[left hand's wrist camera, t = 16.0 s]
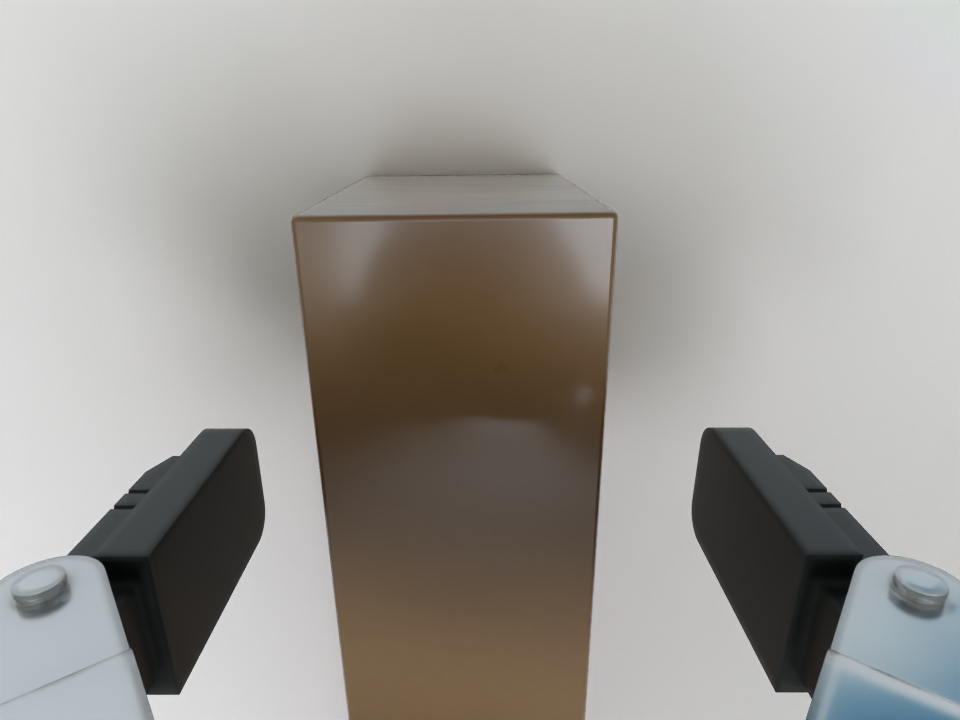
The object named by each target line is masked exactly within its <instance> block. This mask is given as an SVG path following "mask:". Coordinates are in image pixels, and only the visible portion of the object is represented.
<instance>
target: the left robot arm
mask: <svg viewBox="0 0 960 720" xmlns="http://www.w3.org/2000/svg"><path fill="white" fill-rule="evenodd" d="M264 521H265V503H264V496H263V489H262V482H261V475H260V468H259V461H258V454H257V447H256V441H255V437H254V434H253V432H252V431H251V430H250V429H205V430H203V431H202V432H201V433H200V434H199V435H198V436H197V438H196V439H195V440H194V441H193V442H192V443H191V444H190V445H189V447H188V448H187V449H186V450H185V451H184V452H183V453H182V454H181V456H172V457H170V458H169V459H167V460H165V461H164V462H162V463H160V464H159V465H157V466H155V467H153V468H152V469H150V470H148V471H147V472H145V473H144V474H143V476H142V477H141V478H140V479H139V480H138V481H137V482H136V483H135V484H134V485H133V486H132V487H131V488H130V489H129V493H128V494H125V495H124V496H123V497H122V498H121V499H120V500H119V501H118V502H117V503H116V504H115V505H114V509H110V511H109V512H108V513H107V514H106V515H105V516H104V517H103V518H102V519H101V520H100V521H99V522H98V523H97V524H96V525H95V526H94V527H93V529H92V530H91V531H90V532H89V533H88V534H87V535H86V536H85V537H84V538H83V539H82V540H81V541H80V542H79V543H78V544H77V545H76V547H75V548H74V549H73V550H72V551H71V552H70V553H69V554H68V555H67V556H61V557H55V558H51V559H46V560H43V561H40V562H36V563H34V564H31V565H28V566H26V567H24V568H22V569H19V570H17V571H15V572H13V573H12V574H10V575H8V576H6V577H5V578H3V579H2V580H0V720H154V717H153V714H152V711H151V708H150V705H149V701H148V698H147V695H179V694H180V692H181V690H182V689H183V687H184V685H185V683H186V681H187V679H188V677H189V675H190V673H191V671H192V669H193V667H194V666H195V664H196V662H197V660H198V658H199V656H200V654H201V652H202V650H203V648H204V646H205V644H206V643H207V641H208V639H209V637H210V635H211V633H212V631H213V629H214V627H215V625H216V623H217V621H218V620H219V618H220V616H221V614H222V612H223V610H224V608H225V606H226V604H227V602H228V600H229V598H230V597H231V595H232V593H233V591H234V589H235V587H236V585H237V583H238V581H239V579H240V577H241V575H242V574H243V572H244V570H245V568H246V566H247V564H248V562H249V560H250V558H251V556H252V554H253V552H254V551H255V549H256V547H257V545H258V543H259V541H260V539H261V536H262V532H263V528H264ZM692 522H693V528H694V532H695V535H696V538H697V540H698V542H699V544H700V546H701V548H702V550H703V552H704V554H705V556H706V558H707V560H708V562H709V564H710V566H711V567H712V569H713V571H714V573H715V575H716V577H717V579H718V581H719V583H720V585H721V587H722V589H723V591H724V593H725V595H726V597H727V599H728V600H729V602H730V604H731V606H732V608H733V610H734V612H735V614H736V616H737V618H738V620H739V622H740V624H741V626H742V628H743V630H744V632H745V633H746V635H747V637H748V639H749V641H750V643H751V645H752V647H753V649H754V651H755V653H756V655H757V657H758V659H759V661H760V663H761V665H762V666H763V668H764V670H765V672H766V674H767V676H768V678H769V680H770V682H771V684H772V686H773V688H774V690H775V692H808V693H809V695H810V697H811V698H812V701H811V705H810V708H809V711H808V714H807V717H806V720H960V580H958V579H957V578H955V577H954V576H952V575H950V574H948V573H947V572H945V571H943V570H941V569H938V568H936V567H934V566H932V565H929V564H926V563H924V562H920V561H917V560H914V559H909V558H905V557H899V556H889V555H888V554H887V553H886V551H885V550H884V549H883V548H882V547H881V546H880V545H879V544H878V543H877V542H876V541H875V540H874V539H873V538H872V537H871V535H870V534H869V533H868V532H867V531H866V530H865V529H864V528H863V527H862V526H861V525H860V524H859V523H858V522H857V520H856V519H855V518H854V517H853V516H852V515H851V514H850V513H849V512H848V511H847V510H846V509H845V508H841V503H840V502H839V501H838V500H837V499H836V498H835V497H834V496H833V495H832V494H831V493H830V492H827V488H826V487H825V486H824V485H823V484H822V483H821V482H820V481H819V480H818V479H817V478H816V477H815V476H814V475H813V473H812V472H811V471H810V470H808V469H806V468H805V467H803V466H801V465H799V464H798V463H796V462H794V461H793V460H791V459H789V458H787V457H786V456H784V455H775V453H774V452H773V451H772V450H771V449H770V448H769V447H768V445H767V444H766V443H765V442H764V441H763V440H762V439H761V437H760V436H759V435H758V434H757V433H756V432H755V431H754V430H753V429H752V428H707V429H705V431H704V432H703V435H702V438H701V443H700V450H699V457H698V464H697V471H696V478H695V486H694V493H693V500H692Z"/></svg>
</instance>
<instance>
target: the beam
mask: <svg viewBox="0 0 960 720" xmlns="http://www.w3.org/2000/svg"><path fill="white" fill-rule="evenodd" d="M291 228H292V237H293V245H294V254H295V263H296V271H297V280H298V288H299V297H300V305H301V314H302V322H303V331H304V340H305V348H306V357H307V365H308V374H309V382H310V391H311V400H312V408H313V417H314V425H315V434H316V442H317V451H318V459H319V468H320V477H321V485H322V494H323V502H324V511H325V519H326V528H327V537H328V545H329V554H330V562H331V571H332V579H333V588H334V597H335V605H336V614H337V622H338V631H339V639H340V648H341V656H342V665H343V674H344V682H345V691H346V699H347V708H348V716H349V720H585V711H586V696H587V681H588V666H589V651H590V636H591V621H592V605H593V590H594V575H595V560H596V545H597V530H598V515H599V500H600V485H601V470H602V455H603V439H604V424H605V409H606V394H607V379H608V364H609V349H610V334H611V319H612V304H613V289H614V273H615V258H616V243H617V228H618V216H617V213H615V212H614V211H612V210H611V209H609V208H608V207H606V206H605V205H603V204H602V203H600V202H599V201H597V200H596V199H594V198H593V197H592V196H590V195H589V194H587V193H586V192H584V191H583V190H581V189H580V188H578V187H577V186H575V185H574V184H572V183H571V182H569V181H568V180H566V179H565V178H563V177H562V176H560V175H558V174H530V175H448V176H367V177H365V178H363V179H361V180H359V181H358V182H356V183H354V184H352V185H350V186H348V187H347V188H345V189H343V190H341V191H339V192H338V193H336V194H334V195H332V196H330V197H328V198H327V199H325V200H323V201H321V202H319V203H317V204H316V205H314V206H312V207H310V208H308V209H306V210H305V211H303V212H301V213H299V214H297V215H295V216H294V217H292V219H291Z"/></svg>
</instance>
